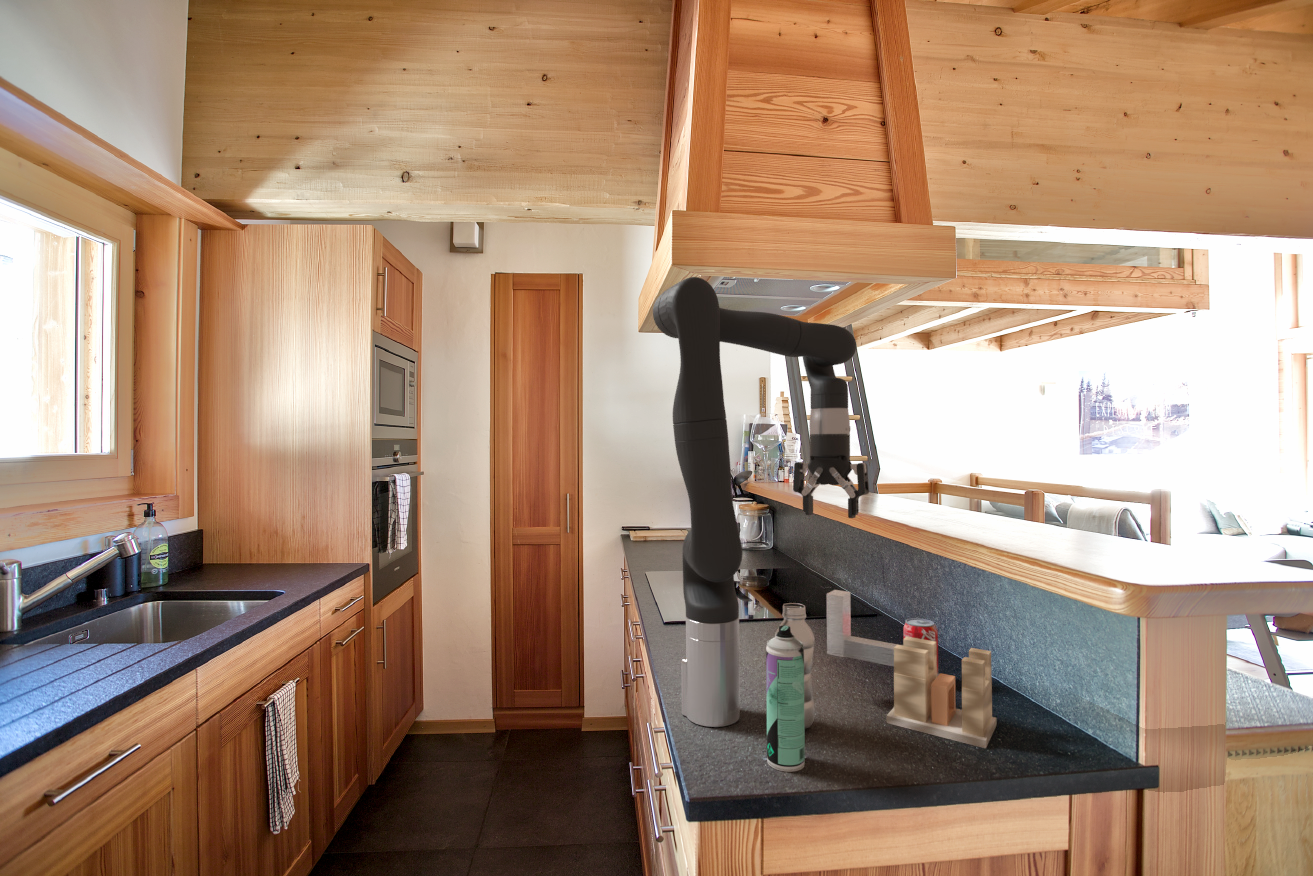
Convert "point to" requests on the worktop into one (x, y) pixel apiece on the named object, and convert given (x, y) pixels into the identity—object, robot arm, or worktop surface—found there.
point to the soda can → (921, 631)
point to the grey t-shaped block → (841, 634)
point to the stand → (915, 693)
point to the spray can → (785, 701)
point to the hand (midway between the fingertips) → (830, 516)
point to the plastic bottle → (803, 633)
